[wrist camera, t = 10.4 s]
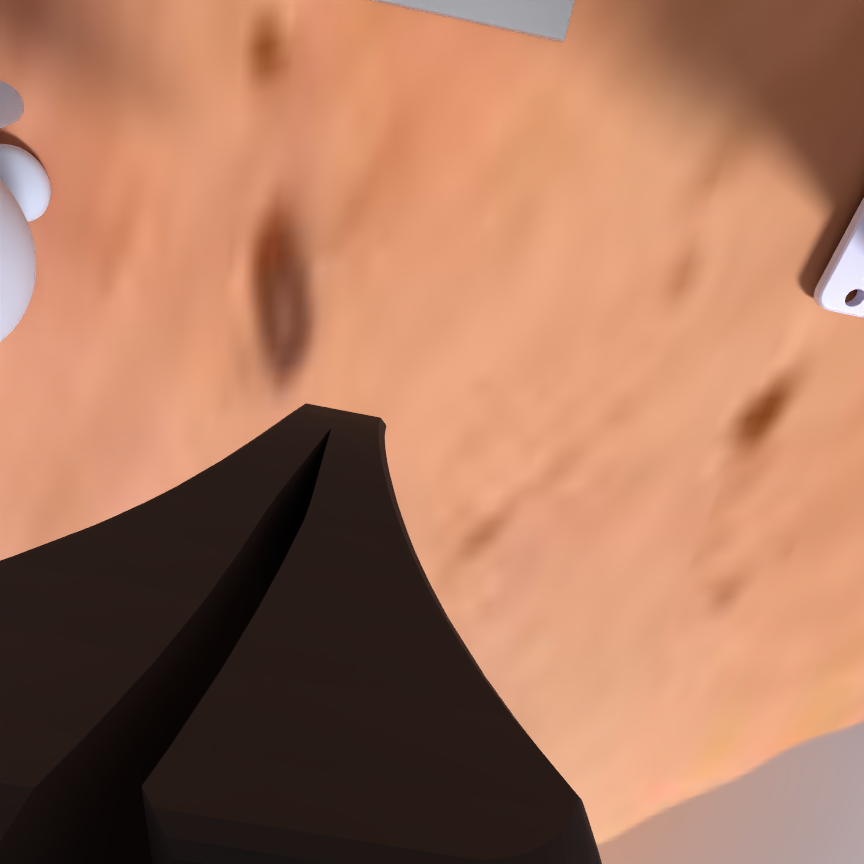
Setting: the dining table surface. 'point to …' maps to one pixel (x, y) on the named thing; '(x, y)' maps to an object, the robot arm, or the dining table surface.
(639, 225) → the dining table surface
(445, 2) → the build board
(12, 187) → the toy figure
